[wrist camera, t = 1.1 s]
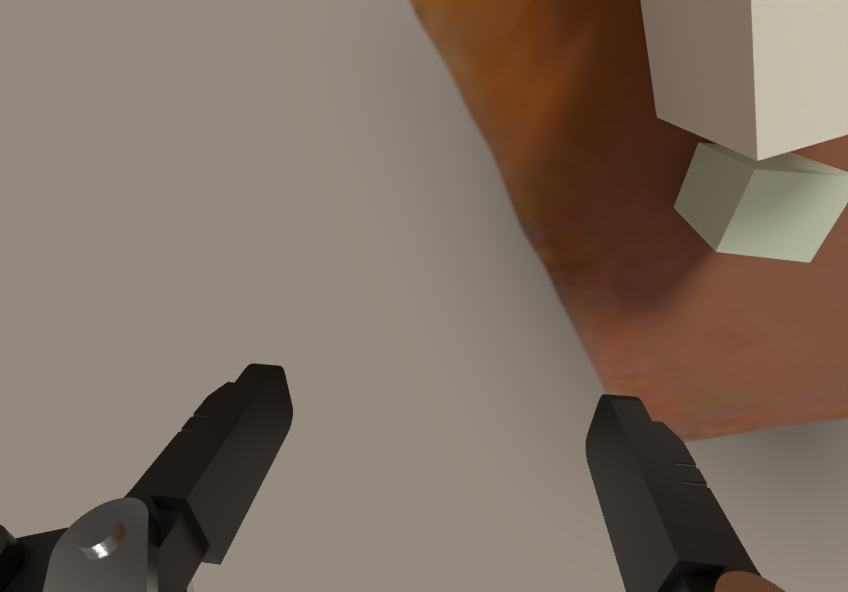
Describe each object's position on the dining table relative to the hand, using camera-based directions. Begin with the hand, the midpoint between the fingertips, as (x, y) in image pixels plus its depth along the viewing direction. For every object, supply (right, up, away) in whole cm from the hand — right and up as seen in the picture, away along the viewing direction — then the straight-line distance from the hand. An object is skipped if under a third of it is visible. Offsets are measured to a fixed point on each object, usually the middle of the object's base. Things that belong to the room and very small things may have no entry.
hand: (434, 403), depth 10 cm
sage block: (+20, +11, +16) cm, 28 cm away
